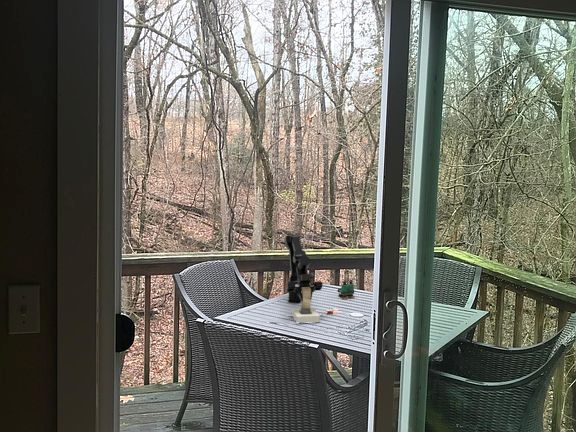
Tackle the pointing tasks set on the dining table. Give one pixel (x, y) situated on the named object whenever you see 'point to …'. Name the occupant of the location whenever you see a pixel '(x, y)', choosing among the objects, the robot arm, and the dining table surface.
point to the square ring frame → (305, 315)
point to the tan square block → (306, 300)
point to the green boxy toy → (347, 290)
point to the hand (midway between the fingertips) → (306, 301)
